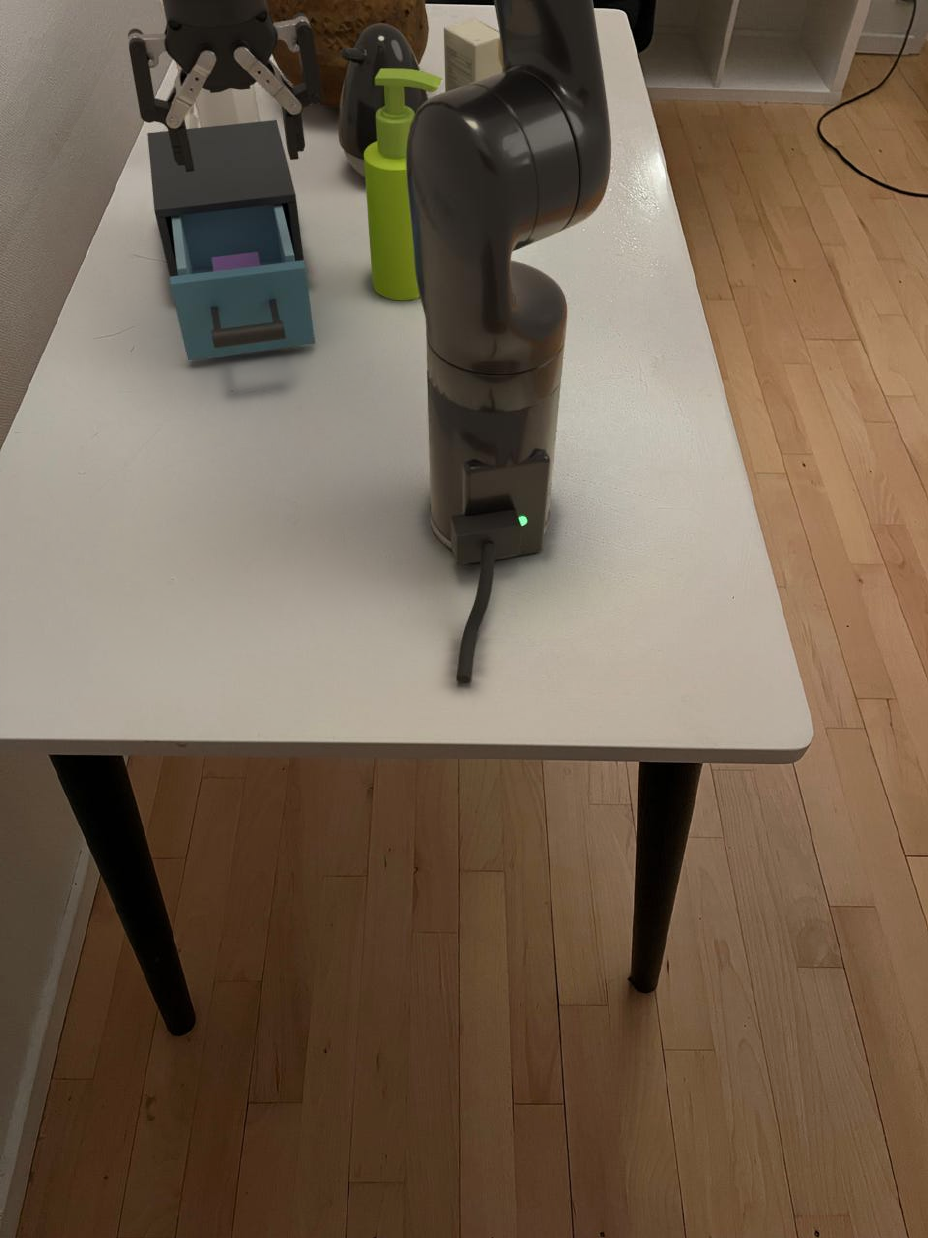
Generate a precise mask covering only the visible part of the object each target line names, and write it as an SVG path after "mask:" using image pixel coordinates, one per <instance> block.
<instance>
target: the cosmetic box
mask: <svg viewBox="0 0 928 1238" xmlns="http://www.w3.org/2000/svg"><path fill="white" fill-rule="evenodd" d="M443 51H444V92H447V91H450V90H453V89H456V88H458V87H461V86H465V85H467V84H471V83H474V82H477V81H480V80H483V79H486V78H489V77H492V76H495V75H498V74H501V73H502V51H501V41H500V34H499V29H498V30H497V29H496V28H494V27H492V26H490V25H488V24H487V23H485V22H483V21H481V20H479V19H477V18H471V19H468V20H463V21H460V22H457V23H456V22H455V23H453V24H449V25H445V26H443Z"/></svg>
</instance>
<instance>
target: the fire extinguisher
mask: <svg viewBox="0 0 928 1238" xmlns="http://www.w3.org/2000/svg"><path fill="white" fill-rule="evenodd" d="M154 1H155V3H156V5H157V8H158V11H159V13H160V15H161V17H162V21H163V24H164V27H165V28H164V29H166V25H167V21H166V15H165V11H164V6H163V1H162V0H154ZM175 65H176V69H177V71H178V72H179V70H180V68H181V67H180V66H179V65H178V64H177V63H176V62H175ZM178 72H177V73H178ZM258 105H259V104H258V100H257V94H256V89H255V84H253V85H251V86H250V89H243V90H239V89H232V88H229V89H227V90H224V91H222V92H216V93H210V90H206V89H204V88H201V90H200V92H199V94H198V96H197V98H196V100H195V102H194V104H193V105H192V106H191V107H190V108H189V110H188V112H187V114H186V116H185V118H184V120H185V125H186V129H193V128H199V126H200V128H202V127H212V126H222V125H232V124H241V123H251V122H261V117H260V112H259V107H258ZM195 108H196V113H197V116H196V115H195V114H194V112H195V110H194V109H195Z"/></svg>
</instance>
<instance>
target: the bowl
mask: <svg viewBox="0 0 928 1238" xmlns="http://www.w3.org/2000/svg"><path fill="white" fill-rule="evenodd" d="M266 2H267V9H268V14H269V16H270V18H271V19H272V21H273V22H274V23H275V22H281V21H287V20H293V17H294V16H295V15H296V14H297V13H303V14H305V15H306V16H307V18H308V20H309V23H310V26H311V29H312V32H313V37H314V43H315V50H316V56H317V62H318V68H319V74H320V80H321V86H322V92H323V100H322V102H321V103H320V104H319V105H320V106H324V107H329V108H335V109H339V105H340V96H341V90H342V84H343V79H344V74H345V70H346V66H347V62H348V60H344V59H342V57H341V50H342V49H343V48H352V47H353V45H354V43H355V41H356V39H357V37H358V36H359V34H360V33H361V32H362V30H364V29H365V28H366V27H368V26H370V25H372V24H375V23H386V24H390V25H392V26H394V27H396V28H397V29H398V30H399V31H400V32H401V33H402V34H403V35H404V37H405V38H406V40H407V41H408V43H409V45H410V47H411V49H412V51H413V53H414V55H415V58H416V60H417V63H418V65H419V66H420V64H421V62H422V59H423V57H424V55H425V52H426V49H427V46H428V42H429V41H428V40H429V31H430V25H429V17H428V12H427V8H426V0H266ZM271 56H272V58H273V60H274V62H275V64H276V65H277V66H276V67H277V68H278V70H279V71H280V73H281V74H282V75H283V76H284V77H285V78H286V80H287V81H288V82H289V83H290V84H291V85H292V86H293V87H295V86H297V85H299V84H301V83H303V77H302V72H301V66H300V60H299V55H298V53H293V52H291V51H290V50H289V48H288V45H287V43H286V42H285V41H283V40H278V42H277V45H276V47H275V49H274V51H273V53H272V55H271Z"/></svg>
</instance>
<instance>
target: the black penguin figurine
mask: <svg viewBox="0 0 928 1238" xmlns="http://www.w3.org/2000/svg"><path fill="white" fill-rule="evenodd" d="M341 57H342V59H344V60H348V62H347V66H346V70H345V74H344V79H343V84H342V90H341V96H340V105H339V108H338V122H337V124H338V125H337V126H338V127H337V130H338V134H337V135H338V142H339V145H340V147H341V149H342V150H343V153H344V155H345V157H346V159H347V161H348V163H349V164H350V166H351V167H352V168H353V169H354V171H356V173H357V174H359V175H360V176H362V177H363V178H365V165H364V151H365V150H366V148H367V147H368V146H369V145H371V144H372V143H374V142H377V130H376V112H377V111H378V110H379V109H380V108H382V107H384V106H385V97H384V86H382V85H375V77H376V76H377V74H378V72H379V70H380V69H412V70H418V71H421V68H420V64H419V65H418V63H417V60H416V58H415V55H414V53H413V51H412V49H411V47H410V45H409V43H408V41H407V40H406V38H405V37H404V35H403V34H402V33H401V32H400V31H399V30H398V29H397V28H396V27H394V26H392V25H390V24H386V23H375V24H372V25H370V26H368V27H366V28H365V29H364V30H362V32H361V33H360V34H359V36H358V37H357V39H356V41H355V43H354V45H353V47H352V48H343V49H342V50H341ZM428 99H429V96H428V91H427V90H424V89H420V88H415V87H404V100H405V106H407V107H409V108H411V109H412V110H413V111H414V113H416V111H417V110H418V108H419V107H420V106H421V105H422V104H423V103H424V102H425V101H426V100H428Z"/></svg>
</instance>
